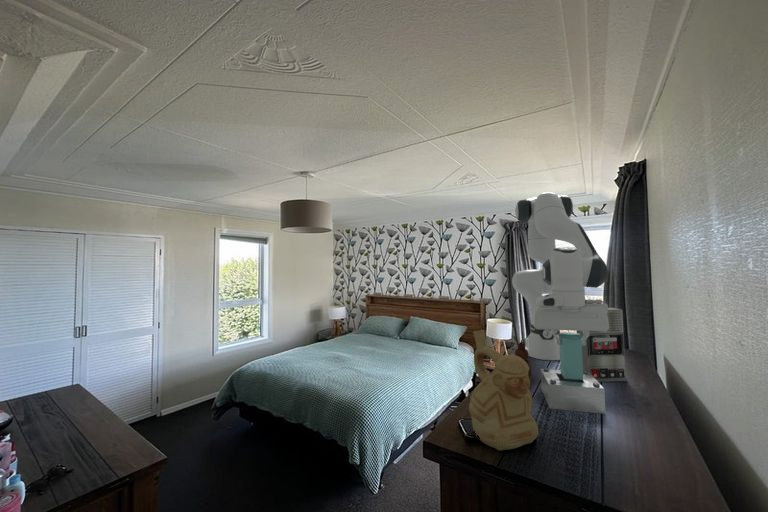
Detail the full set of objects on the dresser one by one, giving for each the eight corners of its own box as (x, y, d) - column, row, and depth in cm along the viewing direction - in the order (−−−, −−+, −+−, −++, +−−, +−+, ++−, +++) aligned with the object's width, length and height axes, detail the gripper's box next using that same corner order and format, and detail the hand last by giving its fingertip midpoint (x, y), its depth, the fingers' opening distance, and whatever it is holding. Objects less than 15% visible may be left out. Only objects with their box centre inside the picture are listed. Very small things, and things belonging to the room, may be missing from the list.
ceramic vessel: (496, 467, 67) (492, 348, 67) (451, 423, 85) (448, 330, 86) (561, 451, 71) (556, 340, 72) (505, 413, 90) (501, 325, 91)
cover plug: (558, 372, 101) (556, 331, 101) (580, 373, 99) (578, 332, 99) (562, 378, 95) (560, 336, 95) (585, 380, 93) (583, 336, 93)
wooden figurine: (533, 383, 111) (531, 340, 111) (516, 383, 112) (514, 340, 112) (528, 377, 117) (527, 336, 118) (512, 376, 118) (510, 336, 119)
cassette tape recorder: (588, 383, 110) (585, 311, 110) (578, 377, 116) (574, 308, 117) (628, 382, 110) (624, 309, 111) (615, 375, 116) (612, 307, 117)
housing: (541, 389, 105) (540, 366, 106) (589, 393, 101) (588, 370, 101) (549, 408, 92) (548, 382, 92) (605, 414, 88) (604, 386, 88)
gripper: (603, 298, 97) (605, 343, 97) (531, 298, 103) (532, 340, 103) (611, 301, 91) (613, 349, 91) (533, 300, 97) (535, 345, 97)
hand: (570, 344), depth 97 cm, fingers closed on cover plug, 5 cm apart
